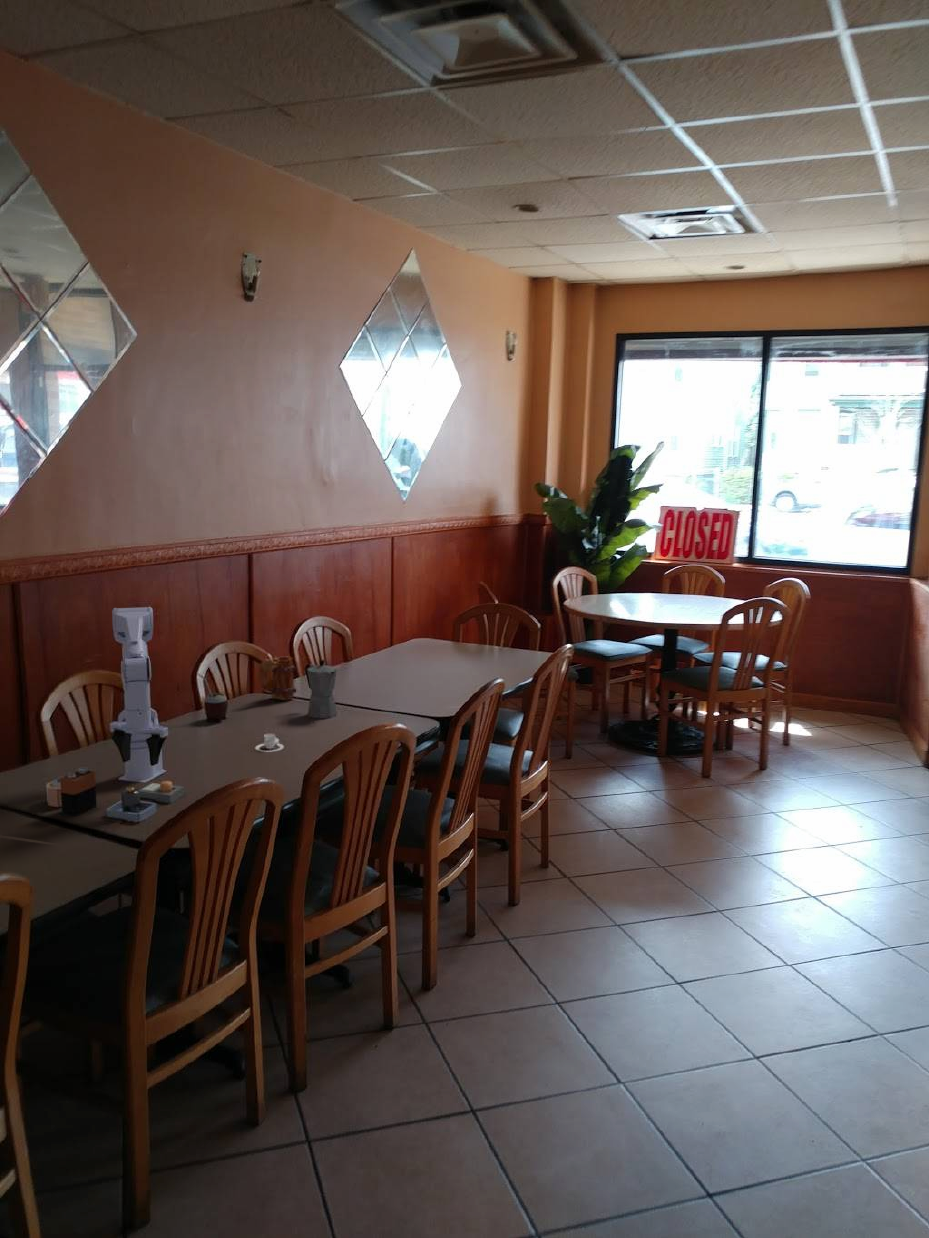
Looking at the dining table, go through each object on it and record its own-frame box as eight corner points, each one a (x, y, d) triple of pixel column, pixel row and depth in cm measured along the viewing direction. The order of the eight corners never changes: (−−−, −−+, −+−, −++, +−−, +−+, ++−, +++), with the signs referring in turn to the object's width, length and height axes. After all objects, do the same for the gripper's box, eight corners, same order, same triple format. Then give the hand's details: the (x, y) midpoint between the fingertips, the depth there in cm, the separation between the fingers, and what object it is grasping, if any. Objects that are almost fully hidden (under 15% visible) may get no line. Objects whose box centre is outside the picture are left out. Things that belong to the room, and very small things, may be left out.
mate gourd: (231, 721, 291) (230, 674, 289) (207, 725, 287) (205, 677, 284) (222, 715, 297) (220, 669, 295) (198, 719, 293) (196, 672, 290)
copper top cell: (128, 808, 220) (127, 784, 219) (143, 810, 219) (142, 785, 218) (118, 815, 216) (117, 790, 215) (134, 816, 215) (133, 791, 214)
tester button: (164, 792, 230) (164, 780, 229) (174, 793, 229) (174, 781, 229) (158, 796, 227) (157, 784, 227) (168, 797, 227) (167, 785, 226)
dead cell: (61, 797, 226) (59, 773, 225) (75, 799, 225) (73, 775, 224) (49, 803, 222) (48, 779, 221) (64, 805, 221) (62, 781, 220)
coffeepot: (346, 716, 299) (346, 661, 295) (322, 721, 292) (321, 665, 289) (318, 706, 310) (317, 653, 306) (294, 711, 303) (293, 657, 300)
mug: (285, 694, 324) (284, 651, 321) (301, 698, 319) (301, 655, 316) (252, 703, 312) (251, 658, 309) (269, 707, 307) (268, 662, 305)
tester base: (184, 794, 231) (184, 785, 230) (170, 803, 225) (170, 794, 224) (152, 790, 233) (151, 781, 232) (137, 798, 227) (137, 790, 227)
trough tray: (124, 807, 222) (123, 799, 222) (157, 811, 220) (157, 803, 219) (105, 818, 215) (105, 809, 215) (139, 822, 213) (139, 814, 213)
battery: (97, 808, 221) (95, 767, 219) (75, 818, 215) (73, 777, 213) (83, 805, 223) (81, 765, 221) (61, 815, 217) (58, 774, 215)
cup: (60, 797, 227) (59, 777, 226) (83, 800, 226) (81, 780, 225) (42, 806, 221) (40, 786, 220) (65, 809, 220) (64, 789, 219)
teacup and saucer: (270, 742, 273) (270, 728, 272) (291, 747, 269) (291, 733, 268) (249, 750, 266) (248, 736, 265) (270, 755, 262) (270, 741, 261)
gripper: (100, 709, 219) (103, 764, 222) (154, 715, 216) (157, 771, 218) (119, 701, 226) (121, 755, 229) (172, 707, 222) (174, 761, 225)
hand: (140, 762), depth 224 cm, fingers open, 7 cm apart
